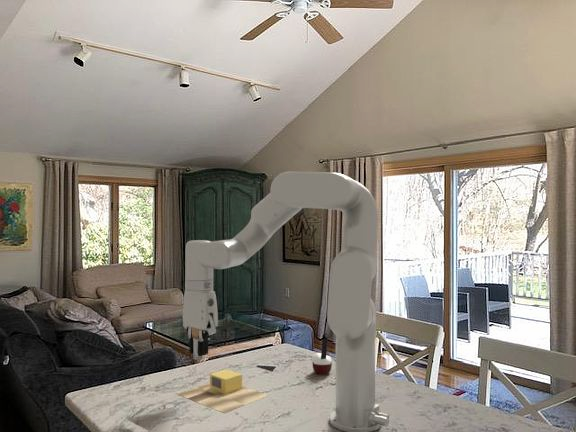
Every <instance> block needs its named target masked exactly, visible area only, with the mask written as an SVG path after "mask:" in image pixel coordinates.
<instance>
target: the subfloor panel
mask: <svg viewBox="0 0 576 432" xmlns="http://www.w3.org/2000/svg"><path fill="white" fill-rule="evenodd" d="M176 395H178V396H180V397H182V398H185V399H187V400H190V401H192V402H195V403H197V404H200V405H202V406H205V407H208V408H210V409H213V410H215V411H218V412H220V413H223V414H226V413H228V412H229V413H230V412H231V411H233V410H236V409H238V408H242V407H244V406H245V405H248V404H251V403H253V402H255V401H258V400H260V399H263V398H265V397H267V396H269V394H267V393H264V392H261V391H258V390H255V389H252V388H248V387H246V386H243V385H242V389H239V390H236V391H233V392H231V393H228V394H224V393H221V392H219V391H216V390H213V389H211V388H210V382H208V383H205V384H202V385H199V386H195V387H193V388H191V389H187V390H184V391H181V392H179V393H176Z"/></svg>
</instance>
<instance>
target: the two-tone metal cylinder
mask: <svg viewBox="0 0 576 432" xmlns="http://www.w3.org/2000/svg"><path fill="white" fill-rule="evenodd" d="M204 333H205V331H203V334H204ZM192 337H193V354H192V356H193V357H192V360H195V361H196V360H197V361H200V360H203V359H204V358H205V355H203V356H198V341H200V340H199V329H196V328H193V327H192Z"/></svg>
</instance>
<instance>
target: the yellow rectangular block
mask: <svg viewBox="0 0 576 432" xmlns="http://www.w3.org/2000/svg"><path fill="white" fill-rule="evenodd" d="M209 383H210V388H211V389H213V390H216V391H219V392H221V393H224V394H228V393H231V392H233V391H236V390H239V389H242V386H243V374H242V373H239V372H236V371H233V370H231V369H230V370H229V369H222V370H219V371H215V372H213V373H210V374H209Z"/></svg>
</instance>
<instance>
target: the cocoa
mask: <svg viewBox="0 0 576 432" xmlns="http://www.w3.org/2000/svg"><path fill="white" fill-rule="evenodd" d="M328 343H329V339H328V338H323V339H322V344H321V352H316V353H314V354H313V355H312V359H311V360H312V362H311V363H312V369H313V372H314V373H315V374H316V375H319V376H326V375H328V374H329V373H330V372H331V371H332V367H333V366H332V365H333V364H332V358H331V356H329V355H327V353H328Z"/></svg>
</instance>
